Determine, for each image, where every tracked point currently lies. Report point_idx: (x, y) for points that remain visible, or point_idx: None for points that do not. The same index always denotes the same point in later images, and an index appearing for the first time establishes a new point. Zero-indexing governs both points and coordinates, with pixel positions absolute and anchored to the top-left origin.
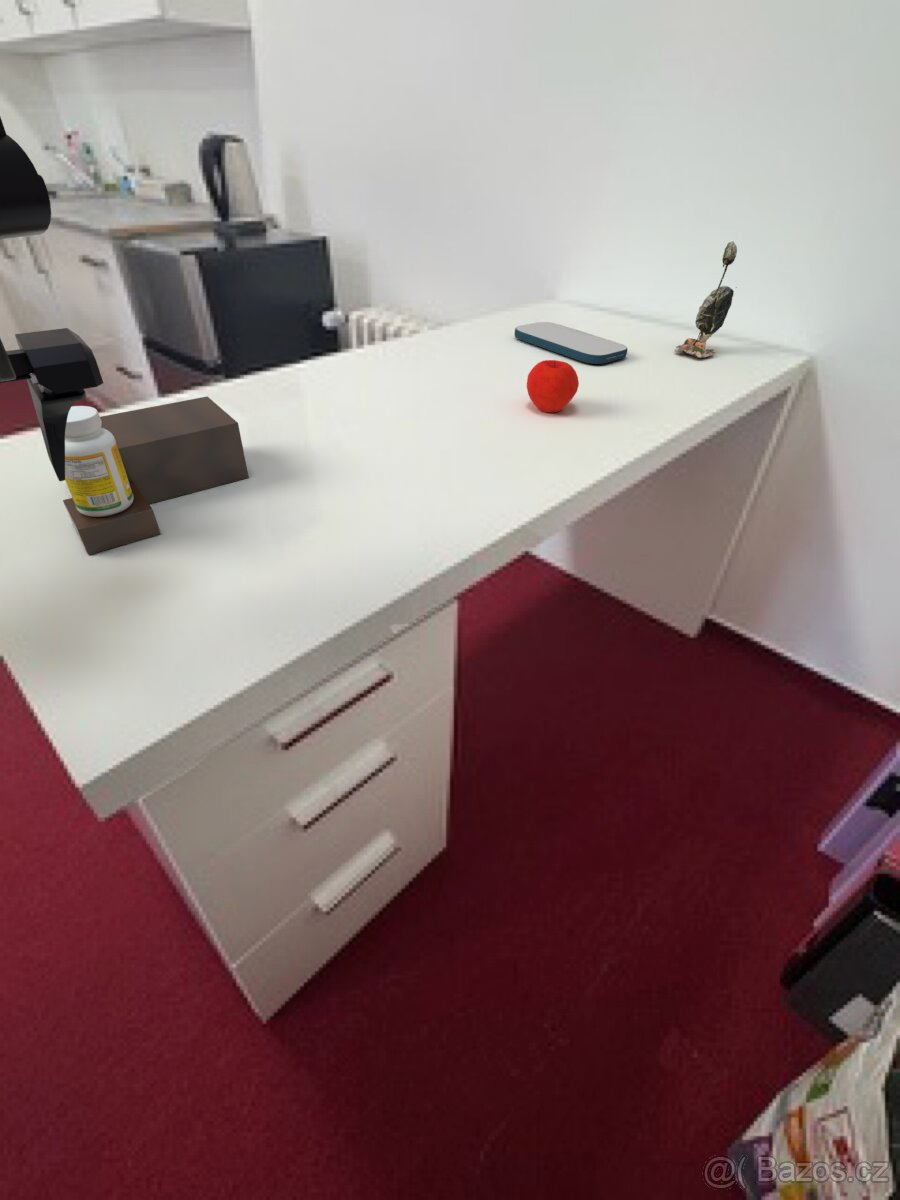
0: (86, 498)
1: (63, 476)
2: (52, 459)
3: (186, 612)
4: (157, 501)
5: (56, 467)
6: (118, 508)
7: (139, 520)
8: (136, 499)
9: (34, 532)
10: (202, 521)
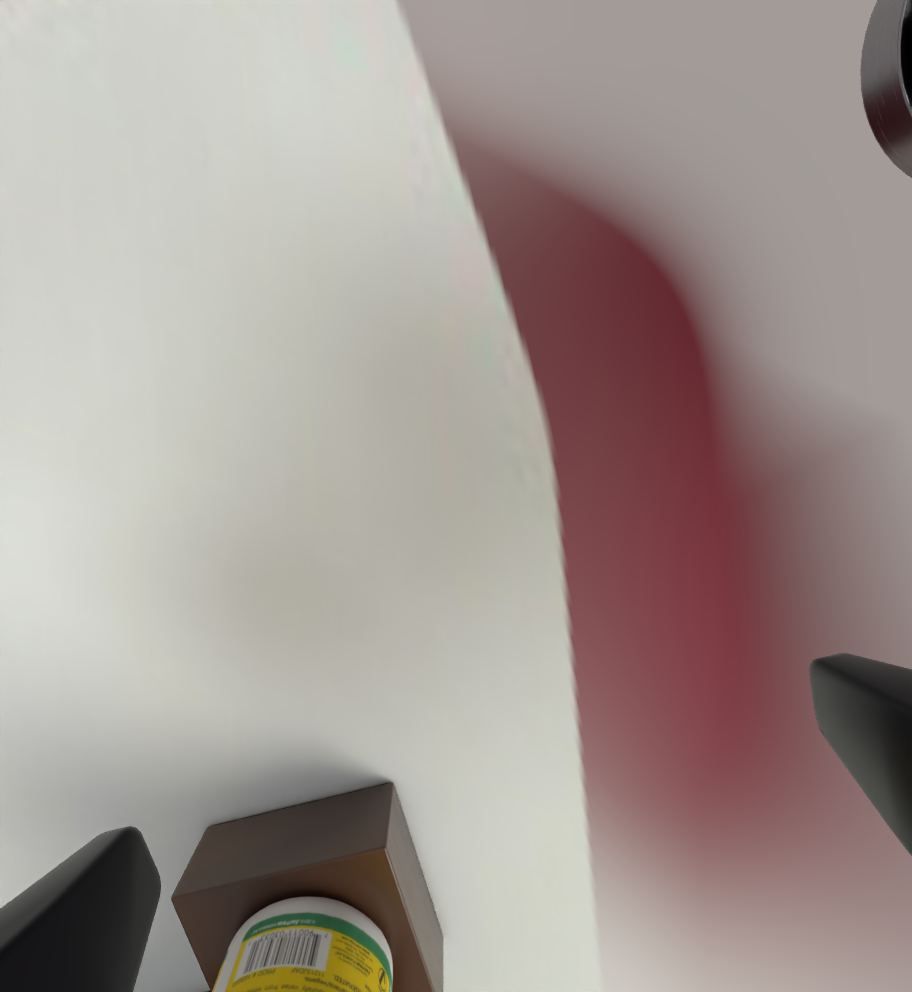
0: (328, 964)
1: (86, 845)
2: (3, 944)
3: (113, 433)
4: None
5: (55, 894)
6: (260, 916)
7: (225, 866)
8: None
9: (537, 926)
10: None
